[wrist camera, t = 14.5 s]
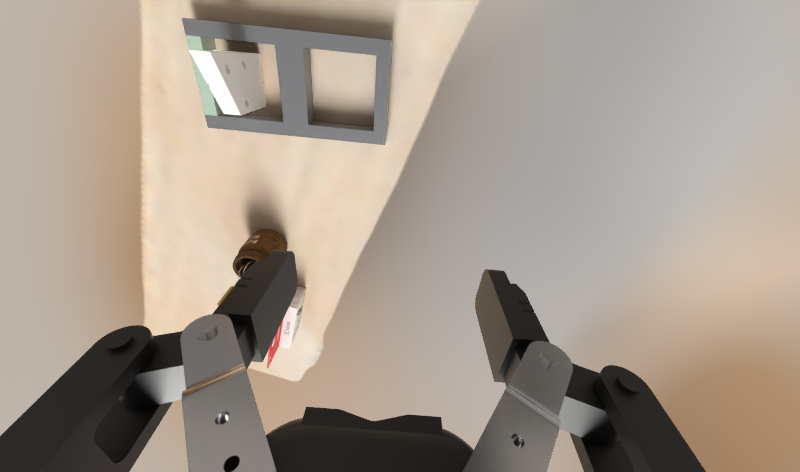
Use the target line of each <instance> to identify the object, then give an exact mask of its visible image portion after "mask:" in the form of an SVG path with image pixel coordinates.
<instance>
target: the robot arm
mask: <svg viewBox="0 0 800 472" xmlns="http://www.w3.org/2000/svg"><path fill="white" fill-rule="evenodd" d="M296 290H297V273H296V264H295V256H294V253H293V252H291V251H280V250H273V251H272V252H271V254H270V255H269V256H268V258H267V259H266V261H258V262H257V263H255V264H254V265H252V266H251V267H249V268H248V269H247V270H246V271H245V273H244V274H243V275H242V276H241V279H239V280H238V282H237V283H236V284H235V287H233V288H232V289H231V291H230V292H229V293H228V295H227V296H226V297H225V299H224V300H223V301H222V302H221V304H220V305H219V306H218V308H217V309H216V310H215V312H214V313H213V314H211V315H207V316H203V317H201V318H199V319H196V320H195V321H193V322H192V323H190V324H189V325H188V326H187V327H186V328H185V329H184V330H183V331H181V332H176V333H170V334H164V335H158V336H152V334H151V332H150V330H149V329H148V328H147V327H144V326H139V325H137V326H128V327H124V328H121V329H118V330H116V331H113V332H111V333H109V334H107V335H106V336H104V337H102V338H101V339H100V340H98V341H97V342H96V343H95V344H94V345H93V346H92V347H91V348H90V349H89V350H88V351H87V352H86V353H85V354H84V355H83V356H82V357H81V358H80V359H79V360H78V361H77V362H76V363H75V364H74V365H73V366H72V367H71V368H70V369H69V370H68V371H66V372H65V373H64V374H63V375H62V376H61V377H60V378H59V379H58V380H57V381H56V382H55V383H54V384H53V385H52V386H51V387H50V388H49V389H48V390H47V391H46V392H45V393H44V394H43V395H42V396H41V397H40V398H39V399H38V400H37V401H36V402H35V403H34V404H33V405H32V406H31V407H30V408H29V409H28V410H27V411H26V412H25V413H23V414H22V416H21V417H20V418H18V419H17V420H16V421H15V422H14V423H13V424H12V425H11V426H10V427H9V428H8V429H7V430H6V431H5V432H4V433H3V434H2V435H1V436H0V472H129V471H130V470H131V468H132V467H133V465H134V463H135V462H136V460H137V458H138V457H139V455H140V454H141V452H142V450H143V449H144V447H145V446H146V444H147V442H148V441H149V439H150V438H151V436H152V434H153V433H154V431H155V430H156V428H157V426H158V425H159V423H160V422H161V420H162V418H163V417H164V415H165V414H166V412H167V410H168V409H169V407H170V405H171V404H172V402H173V401H177V400H182V408H183V417H184V428H185V437H186V447H187V458H188V466H189V467H188V468H189V472H547V468H548V465H549V462H550V459H551V455H552V452H553V449H554V445H555V442H556V439H557V435H558V431H559V428H560V429H562V430H565V431H567V432H569V433H570V435H571V437H572V440H573V443H574V446H575V448H576V451H577V453H578V456H579V459H580V462H581V464H582V467H583V470H584V472H706V471H705V470H704V468H703V467H702V466H701V464H700V462H699V461H698V459H697V458H696V456H695V455H694V453H693V452H692V450H691V449H690V447H689V446H688V444H687V443H686V442H685V440H684V439H683V437H682V436H681V434H680V432H679V431H678V430H677V428H676V427H675V425H674V424H673V422H672V421H671V419H670V418H669V416H668V415H667V413H666V412H665V410H664V409H663V407H662V406H661V404H660V403H659V401H658V400H657V398H656V397H655V395H654V394H653V392H652V391H651V389H650V388H649V387H648V385H647V384H646V383H645V382H644V381H643V380H642V379H641V378H639V377H638V376H637V375H635V374H634V373H632V372H630V371H628V370H627V369H624V368H622V367H618V366H613V365H610V366H606V367H604V368H603V369H602V371H601V372H600V373H597V372H594V371H591V370H589V369H586V368H583V367H580V366H577V365H575V364H573V363H572V362H571V360H570V359H569V357H568V356H567V355H566V354H565V352H563V351H562V350H561V349H560V348H558V347H557V346H555V345H553V344H551V343H550V342H549V340H548V338H547V336H546V334H545V332H544V330H543V328H542V326H541V325H540V322H539V320H538V318H537V316H536V314H535V313H534V310H533V308H532V306H531V305H530V302H529V300H528V298H527V296H526V294H525V293H524V292H523V291H522V290H521V289H520V288H519V287H518V286H517V285H516V284H510V282H509V280H508V278H507V275H506V273H505V272H504V271H498V270H487V269H486V270H485V271H484V272H483V275H482V279H481V282H480V285H479V289H478V292H477V295H476V302H475V308H476V313H477V317H478V321H479V325H480V329H481V332H482V336H483V340H484V343H485V347H486V351H487V355H488V358H489V363H490V366H491V370H492V374H493V378H494V381H495V382H505V383H506V389H505V391H504V393H503V395H502V397H501V399H500V401H499V403H498V405H497V407H496V409H495V410H494V413H493V414H492V416H491V418H490V420H489V422H488V424H487V426H486V428H485V430H484V432H483V434H482V436H481V438H480V440H479V441H478V443H477V445H476V447H475V449H474V450H473V449H472V448H471V447H470V446H469V445H468V444H467V443H466V442H465V441H463V440H462V439H461V438H459V437H458V436H456V435H455V434H453V433H451V432H449V431H447V430H445V429H442V422H441V417H432V416H418V415H404V416H399V417H395V418H389V419H385V420H380V421H370V420H367V419H364V418H361V417H359V416H356V415H353V414H351V413H348V412H345V411H343V410H339V409H327V408H314V407H306V410H305V413H304V416H303V418H301V419H297V420H294V421H291V422H288V423H286V424H284V425H281V426H280V427H278V428H277V429H274V430H273V431H271V432H270V433H269V434H267V435H266V434H265V431H264V428H263V424H262V421H261V418H260V414H259V411H258V408H257V405H256V401H255V398H254V394H253V391H252V388H251V384H250V381H249V378H248V374H247V371H246V370H247V368H248V366H249V365H250V363H251V361H255V362H263V360H264V358H265V356H266V354H267V352H268V350H269V348H270V345H271V343H272V341H273V339H274V337H275V335H276V333H277V331H278V329H279V327H280V325H281V323H282V321H283V319H284V317H285V315H286V312H287V310H288V308H289V306H290V304H291V302H292V300H293V298H294V296H295V293H296Z"/></svg>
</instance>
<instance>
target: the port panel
mask: <svg viewBox="0 0 800 472" xmlns="http://www.w3.org/2000/svg"><path fill="white" fill-rule="evenodd" d="M182 21H183V25H184V29H185V34H186V38H187V42H188V46H189V50H206V51H213V50H216V49H215V44H214V39H213V38H218V39H227V40H237V41H246V42H256V43H265V44H275V49H276V58H277V67H278V76H279V85H280V94H281V103H282V112H283V118H277V117H267V116H257V115H247V114H244V115H232V114H224V113H223V111H222V110H221V108H220V106H219V104H218V102H217V100H216V99H215V97H214V95H213V93H212V91H211V90H210V88H209V86H210V85H209V84H208V83H207V82H206V80H205V79H204V77H203V75H202V73H201V71H200V69H199V68H198V66H197V64H196V62H195V60H194V59H193V57H192V55H191V59H192V63H193V67H194V71H195V75H196V80H197V84H198V88H199V92H200V96H201V100H202V105H203V109H204V113H205V117H206V121H207V125H208V128H218V129H228V130H238V131H248V132H258V133H269V134H279V135H289V136H299V137H309V138H320V139H330V140H340V141H350V142H360V143H371V144H381V145H385V143H386V136H387V120H388V105H389V89H390V73H391V58H392V42H393V41H392V40H385V39H376V38H366V37H357V36H348V35H338V34H329V33H319V32H310V31H301V30H291V29H282V28H272V27H263V26H254V25H244V24H235V23H226V22H216V21H207V20H197V19H188V18H182ZM310 48H313V49H322V50H332V51H341V52H351V53H360V54H370V55H377V59H376V83H375V107H374V127H367V126H357V125H347V124H337V123H327V122H317V121H314V114H313V97H312V80H311V63H310ZM190 54H191V53H190Z"/></svg>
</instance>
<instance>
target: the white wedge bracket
mask: <svg viewBox="0 0 800 472" xmlns="http://www.w3.org/2000/svg"><path fill="white" fill-rule="evenodd" d="M189 51H190V53H191V55H192V57H193V59H194V60H195V62H196V64H197V66H198V68H199V69H200V71H201V73H202V75H203V77H204V79H205V80H206V82H207V83H208V84H209V85H210V86H209V88H210V90H211V91H212V93H213V95H214V97H215V99H216V100H217V102H218V104H219V106H220V108H221V110H222V111H223V113H224V114H232V115H244V114H247V113H249V112H252V111H255V110H258V109H261V108H264V107H267V104H266V97H265V89H264V82H263V75H262V67H261V60H260V54H258V53H249V52H239V51H230V50H213V51H206V50H189Z"/></svg>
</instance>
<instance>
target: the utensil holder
mask: <svg viewBox="0 0 800 472" xmlns="http://www.w3.org/2000/svg"><path fill="white" fill-rule="evenodd" d="M273 250H280V251H287V245H286V242H285V240H284V239H283V237H282V236H281V235H279V234H278V233H276V232H274V231H271V230H260V231H257V232H256V233H254V234H253V235H252V236H251V237H250V238H249V239H248V240H247V241H246V242H245V244H244V245H243V246H242V247H241V249H240V250H239V253H238V255H237V256H236V258H235V260H234V262H233V269H234V271H235V273H236V274H237V275H238V276H239V277H240V278H241V276H242V275H243V274H244V273H245V271H246V270H247V269H248V268H249V267H251V266H252V265H254V264H255V263H257V262H258V261H266V259H267V258H268V256H269V255H270V254H271V252H272V251H273ZM239 277H238V279H239ZM233 287H235V286H232V287H230V288H229V290H228V291H227V292H226V294H225V295H224V296H223V297H222V299H221V300H220V301H219V303H218V305H220V304H221V302H222V301H223V300H224V299H225V297H226V296H227V295H228V293H229V292H230V291H231V289H232V288H233Z"/></svg>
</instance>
